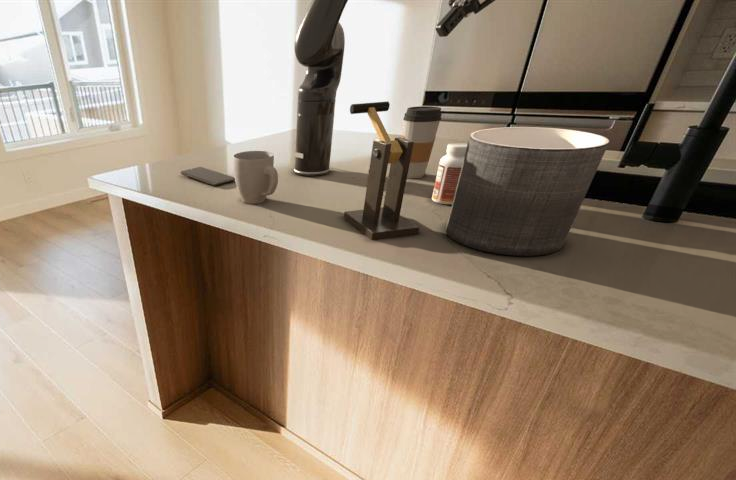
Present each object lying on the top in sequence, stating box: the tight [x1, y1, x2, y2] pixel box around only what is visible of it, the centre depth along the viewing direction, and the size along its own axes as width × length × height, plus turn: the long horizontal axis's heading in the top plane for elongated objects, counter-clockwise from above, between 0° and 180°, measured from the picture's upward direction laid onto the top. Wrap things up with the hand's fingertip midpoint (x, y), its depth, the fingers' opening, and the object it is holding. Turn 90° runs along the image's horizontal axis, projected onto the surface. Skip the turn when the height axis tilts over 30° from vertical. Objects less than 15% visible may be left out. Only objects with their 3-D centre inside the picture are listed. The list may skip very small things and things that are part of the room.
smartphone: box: [180, 166, 235, 186], centre depth 114 cm, size 7×1×16 cm
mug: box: [232, 150, 279, 205], centre depth 93 cm, size 12×9×10 cm
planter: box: [445, 126, 610, 257], centre depth 69 cm, size 18×18×16 cm
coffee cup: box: [401, 105, 443, 179], centre depth 103 cm, size 8×8×15 cm
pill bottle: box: [431, 142, 468, 206], centre depth 87 cm, size 6×6×11 cm
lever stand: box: [343, 136, 421, 241], centre depth 76 cm, size 12×9×15 cm
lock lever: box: [349, 101, 403, 165], centre depth 75 cm, size 14×7×2 cm
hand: (440, 32), depth 73 cm, fingers closed
